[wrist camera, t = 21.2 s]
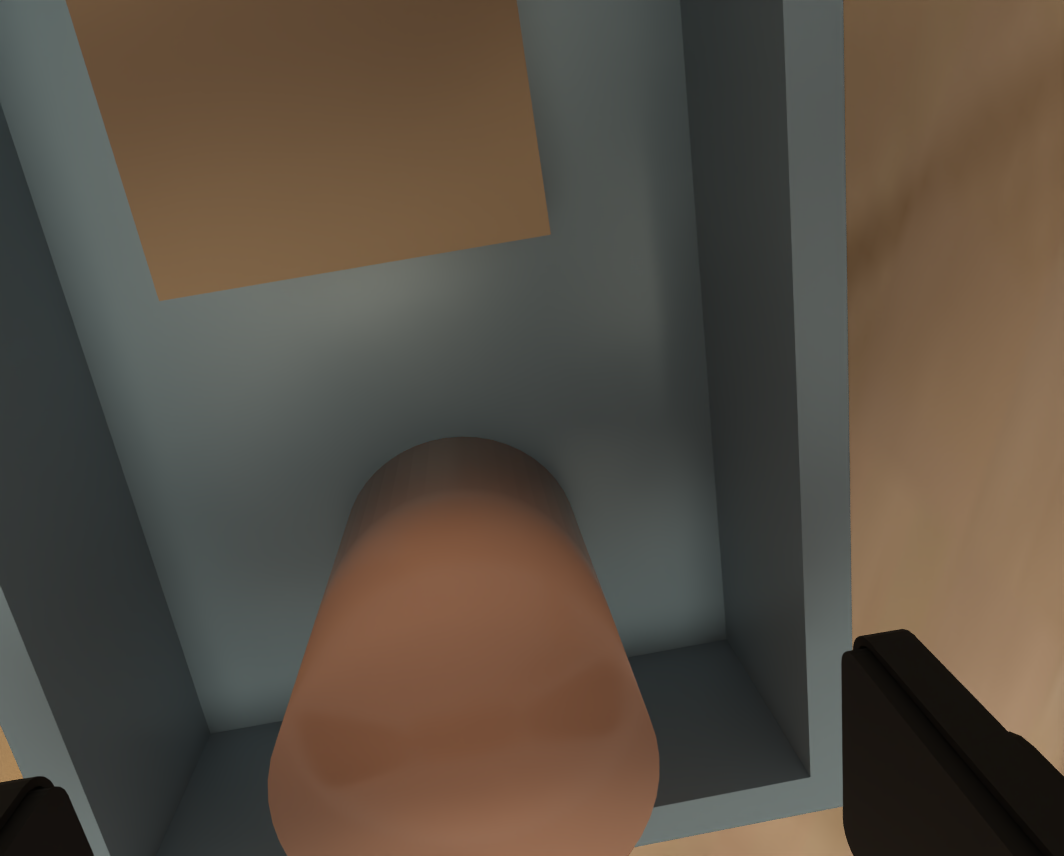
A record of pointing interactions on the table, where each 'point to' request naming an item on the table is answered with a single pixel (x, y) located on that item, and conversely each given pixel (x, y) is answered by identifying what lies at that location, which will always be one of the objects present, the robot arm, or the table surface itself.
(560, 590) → the salmon orange cylinder
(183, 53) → the walnut cube
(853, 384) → the table surface
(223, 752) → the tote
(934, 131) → the table surface
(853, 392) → the table surface
